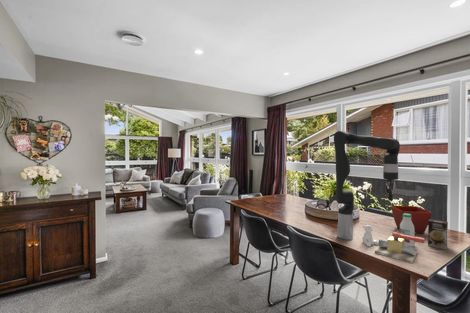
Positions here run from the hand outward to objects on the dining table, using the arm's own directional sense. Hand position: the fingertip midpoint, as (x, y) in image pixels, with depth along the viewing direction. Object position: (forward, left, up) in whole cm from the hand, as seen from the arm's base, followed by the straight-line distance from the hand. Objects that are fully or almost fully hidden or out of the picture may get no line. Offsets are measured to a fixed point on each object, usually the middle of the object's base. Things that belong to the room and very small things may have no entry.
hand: (390, 199), depth 139 cm
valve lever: (+9, -2, -22) cm, 24 cm away
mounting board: (+3, -2, -31) cm, 31 cm away
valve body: (+3, -2, -29) cm, 30 cm away
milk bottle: (+5, +18, -31) cm, 36 cm away
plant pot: (+1, +54, -31) cm, 62 cm away
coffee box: (+19, +29, -31) cm, 47 cm away
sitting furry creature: (-13, +3, -31) cm, 34 cm away
